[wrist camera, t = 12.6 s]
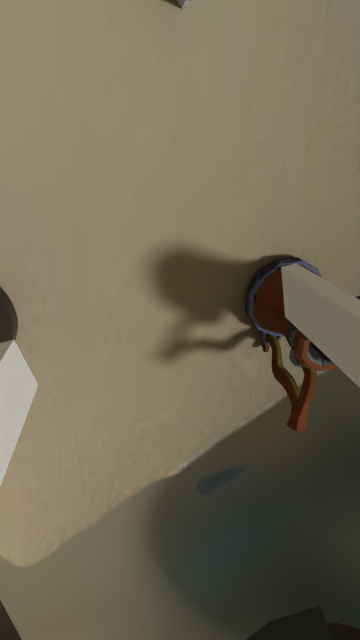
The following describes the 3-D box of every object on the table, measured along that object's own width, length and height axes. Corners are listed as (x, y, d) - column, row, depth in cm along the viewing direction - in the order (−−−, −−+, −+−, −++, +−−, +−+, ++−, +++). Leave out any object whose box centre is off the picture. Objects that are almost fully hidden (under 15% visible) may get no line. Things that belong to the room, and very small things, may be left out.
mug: (286, 370, 53) (342, 440, 40) (220, 362, 50) (256, 435, 37) (331, 263, 46) (416, 304, 33) (256, 248, 43) (317, 286, 30)
